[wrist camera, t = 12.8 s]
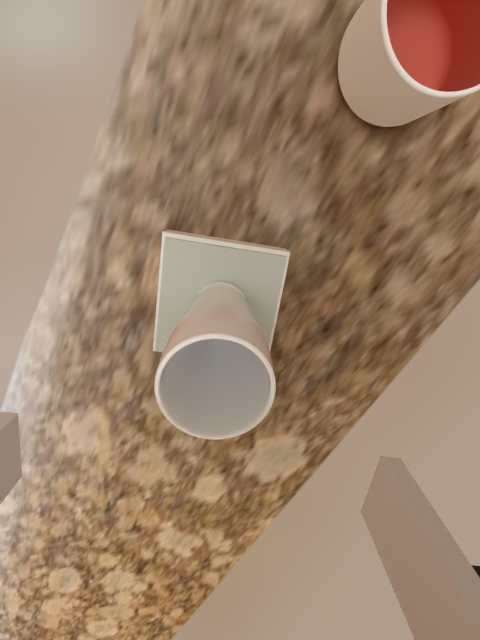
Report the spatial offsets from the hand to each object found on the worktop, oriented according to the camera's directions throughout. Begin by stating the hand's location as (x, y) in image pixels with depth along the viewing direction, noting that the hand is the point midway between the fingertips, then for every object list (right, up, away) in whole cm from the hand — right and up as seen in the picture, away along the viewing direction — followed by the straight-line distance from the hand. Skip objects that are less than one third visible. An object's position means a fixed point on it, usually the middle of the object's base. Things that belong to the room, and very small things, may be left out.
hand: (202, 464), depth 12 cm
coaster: (-1, +8, +24) cm, 25 cm away
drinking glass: (-1, +7, +20) cm, 21 cm away
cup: (+15, +28, +18) cm, 36 cm away
